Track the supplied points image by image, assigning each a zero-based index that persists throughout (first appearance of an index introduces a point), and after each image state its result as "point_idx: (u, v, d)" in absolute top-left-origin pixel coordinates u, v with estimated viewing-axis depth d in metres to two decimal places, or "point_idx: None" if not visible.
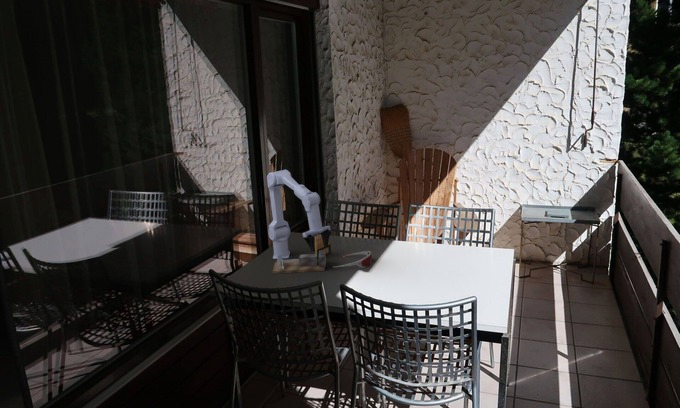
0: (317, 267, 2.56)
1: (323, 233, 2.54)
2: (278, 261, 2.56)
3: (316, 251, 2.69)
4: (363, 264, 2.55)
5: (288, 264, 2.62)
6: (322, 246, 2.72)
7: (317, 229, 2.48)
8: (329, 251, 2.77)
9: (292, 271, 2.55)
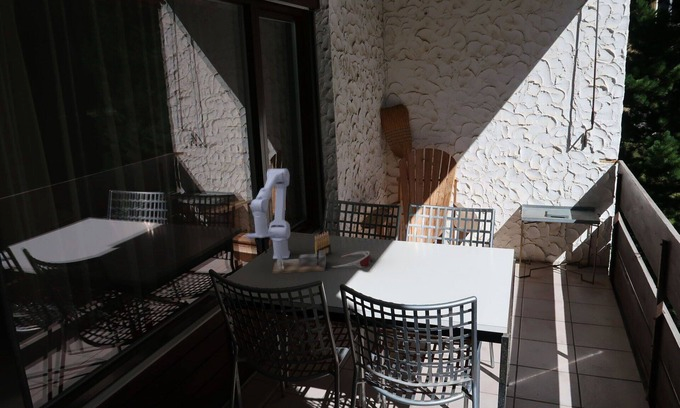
0: (317, 267, 2.56)
1: (264, 239, 2.57)
2: (278, 261, 2.56)
3: (316, 251, 2.69)
4: (362, 264, 2.56)
5: (288, 264, 2.62)
6: (322, 246, 2.72)
7: (258, 235, 2.54)
8: (329, 251, 2.77)
9: (292, 271, 2.55)
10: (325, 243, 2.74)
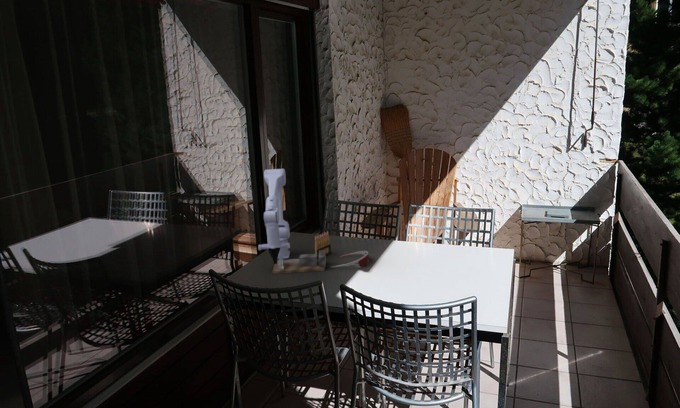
0: (317, 267, 2.56)
1: (274, 250, 2.59)
2: (279, 261, 2.56)
3: (316, 251, 2.69)
4: (360, 264, 2.56)
5: (288, 264, 2.62)
6: (322, 246, 2.72)
7: (270, 245, 2.55)
8: (329, 251, 2.77)
9: (292, 271, 2.55)
10: (325, 243, 2.74)
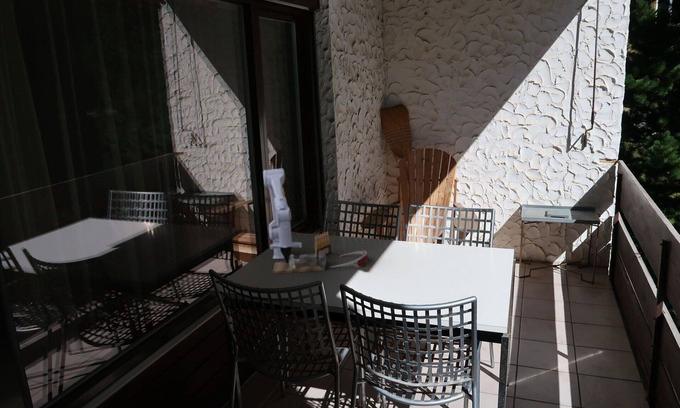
0: (317, 267, 2.56)
1: None
2: (290, 260, 2.56)
3: (316, 251, 2.69)
4: (359, 264, 2.56)
5: (288, 264, 2.62)
6: (322, 246, 2.72)
7: (282, 245, 2.55)
8: (329, 251, 2.77)
9: (292, 271, 2.55)
10: (325, 243, 2.74)
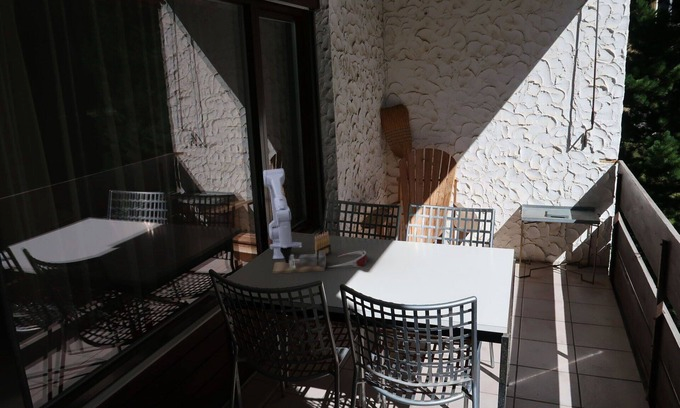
0: (317, 267, 2.56)
1: None
2: (290, 260, 2.56)
3: (316, 251, 2.69)
4: (358, 264, 2.56)
5: (288, 264, 2.62)
6: (322, 246, 2.72)
7: (282, 245, 2.55)
8: (329, 251, 2.77)
9: (292, 271, 2.55)
10: (325, 243, 2.74)
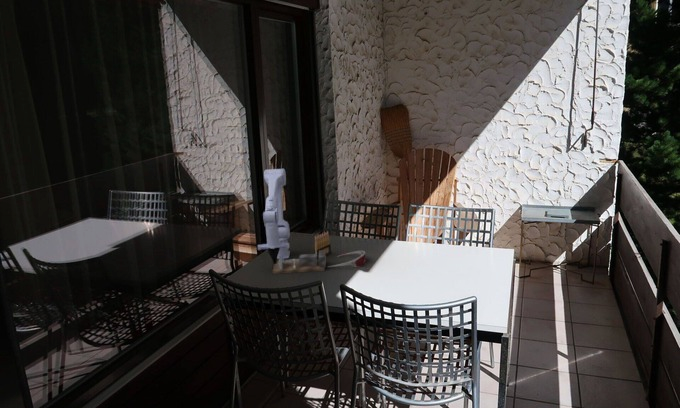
0: (317, 267, 2.56)
1: None
2: (279, 261, 2.56)
3: (316, 251, 2.69)
4: (357, 264, 2.56)
5: (288, 264, 2.62)
6: (322, 246, 2.72)
7: (270, 245, 2.55)
8: (329, 251, 2.77)
9: (292, 271, 2.55)
10: (325, 243, 2.74)
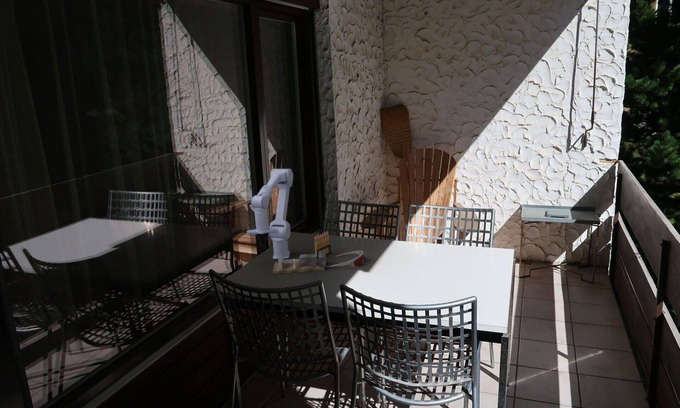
0: (317, 267, 2.56)
1: None
2: (279, 261, 2.56)
3: (316, 251, 2.69)
4: (355, 264, 2.57)
5: (288, 264, 2.62)
6: (322, 246, 2.72)
7: (259, 231, 2.57)
8: (329, 251, 2.77)
9: (292, 271, 2.55)
10: (325, 243, 2.74)
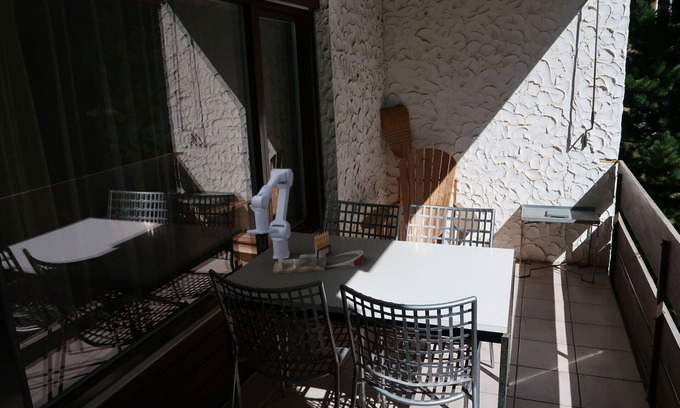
0: (317, 267, 2.56)
1: None
2: (279, 261, 2.56)
3: (316, 251, 2.69)
4: (355, 263, 2.57)
5: (288, 264, 2.62)
6: (322, 246, 2.72)
7: (259, 231, 2.57)
8: (329, 251, 2.77)
9: (292, 271, 2.55)
10: (325, 243, 2.74)
